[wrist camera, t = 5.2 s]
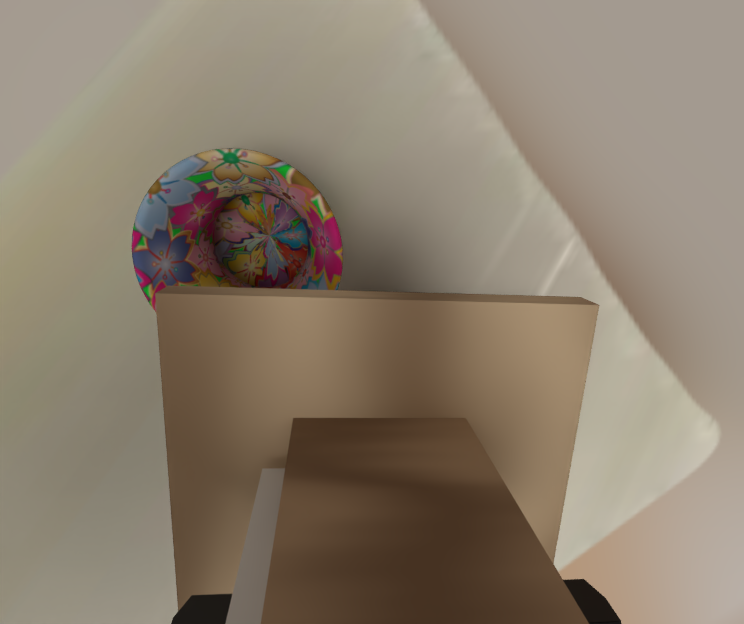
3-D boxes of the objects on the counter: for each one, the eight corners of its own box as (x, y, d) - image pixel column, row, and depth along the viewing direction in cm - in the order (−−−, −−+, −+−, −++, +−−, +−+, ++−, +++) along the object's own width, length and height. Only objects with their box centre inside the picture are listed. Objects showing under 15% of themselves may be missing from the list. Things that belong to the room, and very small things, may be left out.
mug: (173, 194, 30) (89, 196, 19) (307, 139, 29) (293, 113, 19) (253, 355, 33) (217, 430, 23) (374, 307, 33) (392, 362, 22)
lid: (190, 629, 16) (58, 1050, 8) (168, 285, 13) (-79, 432, 5) (527, 614, 17) (693, 968, 9) (580, 297, 14) (892, 429, 6)
